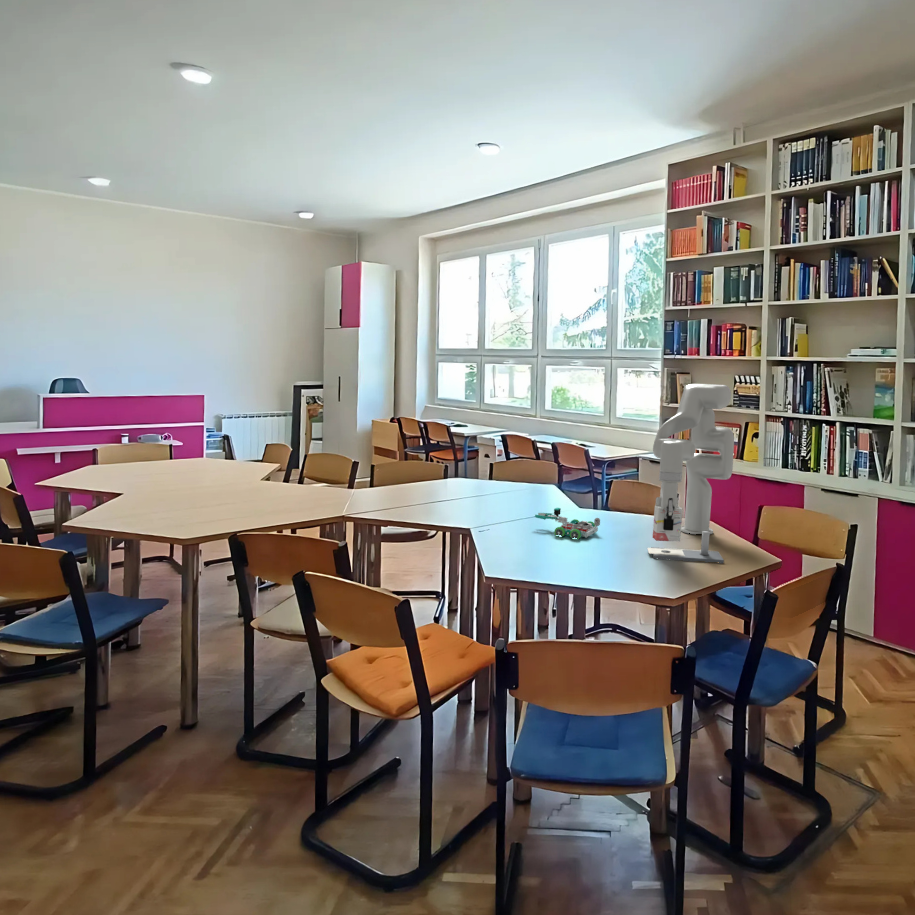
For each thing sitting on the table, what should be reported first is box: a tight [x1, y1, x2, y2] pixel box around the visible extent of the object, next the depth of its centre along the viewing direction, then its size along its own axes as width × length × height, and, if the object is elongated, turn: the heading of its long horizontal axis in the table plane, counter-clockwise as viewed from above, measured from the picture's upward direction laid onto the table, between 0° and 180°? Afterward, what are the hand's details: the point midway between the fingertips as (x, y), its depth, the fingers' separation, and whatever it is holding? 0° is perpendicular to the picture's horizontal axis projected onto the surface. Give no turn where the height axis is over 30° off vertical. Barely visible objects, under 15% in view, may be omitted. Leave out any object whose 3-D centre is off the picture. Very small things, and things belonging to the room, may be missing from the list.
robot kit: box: [534, 507, 601, 540], centre depth 293 cm, size 19×25×9 cm
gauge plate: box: [646, 531, 725, 564], centre depth 261 cm, size 12×24×9 cm, turn 80°
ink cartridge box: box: [652, 496, 684, 543], centre depth 261 cm, size 9×5×15 cm, turn 92°
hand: (667, 527), depth 261 cm, fingers closed on ink cartridge box, 5 cm apart
